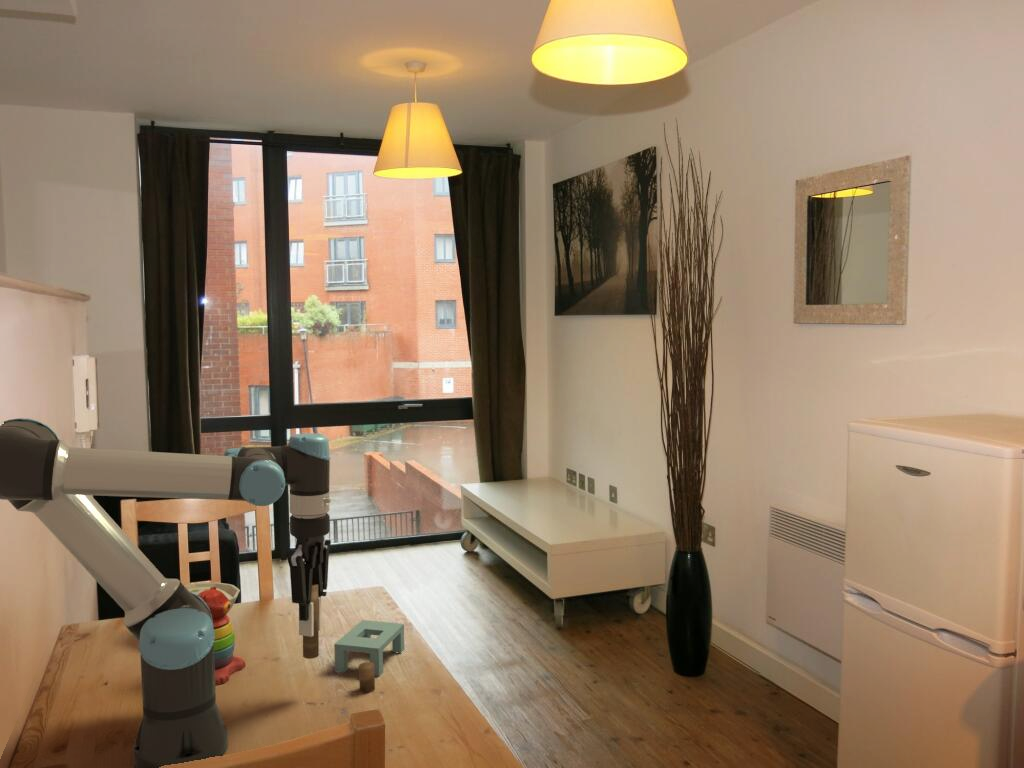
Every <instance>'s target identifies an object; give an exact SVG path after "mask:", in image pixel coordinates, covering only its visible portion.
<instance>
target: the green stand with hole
mask: <svg viewBox="0 0 1024 768" xmlns="http://www.w3.org/2000/svg"><path fill="white" fill-rule="evenodd" d="M372 636H377V637H376V638H373V637H372ZM391 643H392V644H391ZM390 644H391V645H392V647H391V648H392V653H393V652H398V653H397V654H400V653H401V652H402V651H403V650H404V651H405V624H404V623H399V622H397V623H396V622H390V621H389V622H387V621H379V620H378V621H377V620H367V619H362V620H360V621H359V622H358V623H357V624H356V625H355V626H354V627H352V628H351V629H350V630H348V632H347V633H345V634H344V635H343V636H342V637H341V638H339V640H337V641H336V642H335V643H334V645H333V646H334V650H333V651H334V672H335V673H336V672H337V673H345V672H346V671H348V669H349V659H348V658H349V657H348V656H349V655H348V654H349V653H348V652H355V653H363V654H364V653H365V654H369V662H371V663H374V668H375V677H378V676H379V677H380V676H382V674H383V673H384V658H383V657H384V652H383V651H384V650H385V649H386V648H387V647H388V646H389V645H390ZM404 651H403V652H404ZM403 652H402V653H403ZM402 653H401V654H402Z"/></svg>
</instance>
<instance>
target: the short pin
mask: <svg viewBox="0 0 1024 768" xmlns="http://www.w3.org/2000/svg"><path fill="white" fill-rule="evenodd" d="M358 666H359V667H358V668H359V670H358V671H359V677H358V678H359V679H358V681H359V692H361V693H363V694H369V693H372V692H374V691H375V690H376V682H375V681H376V679H375V678H376V676H375V668H374V663H371V662H370V661H369V662H368V661H367V662H365V661H364V662H362V663H360V664H359V665H358Z"/></svg>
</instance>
